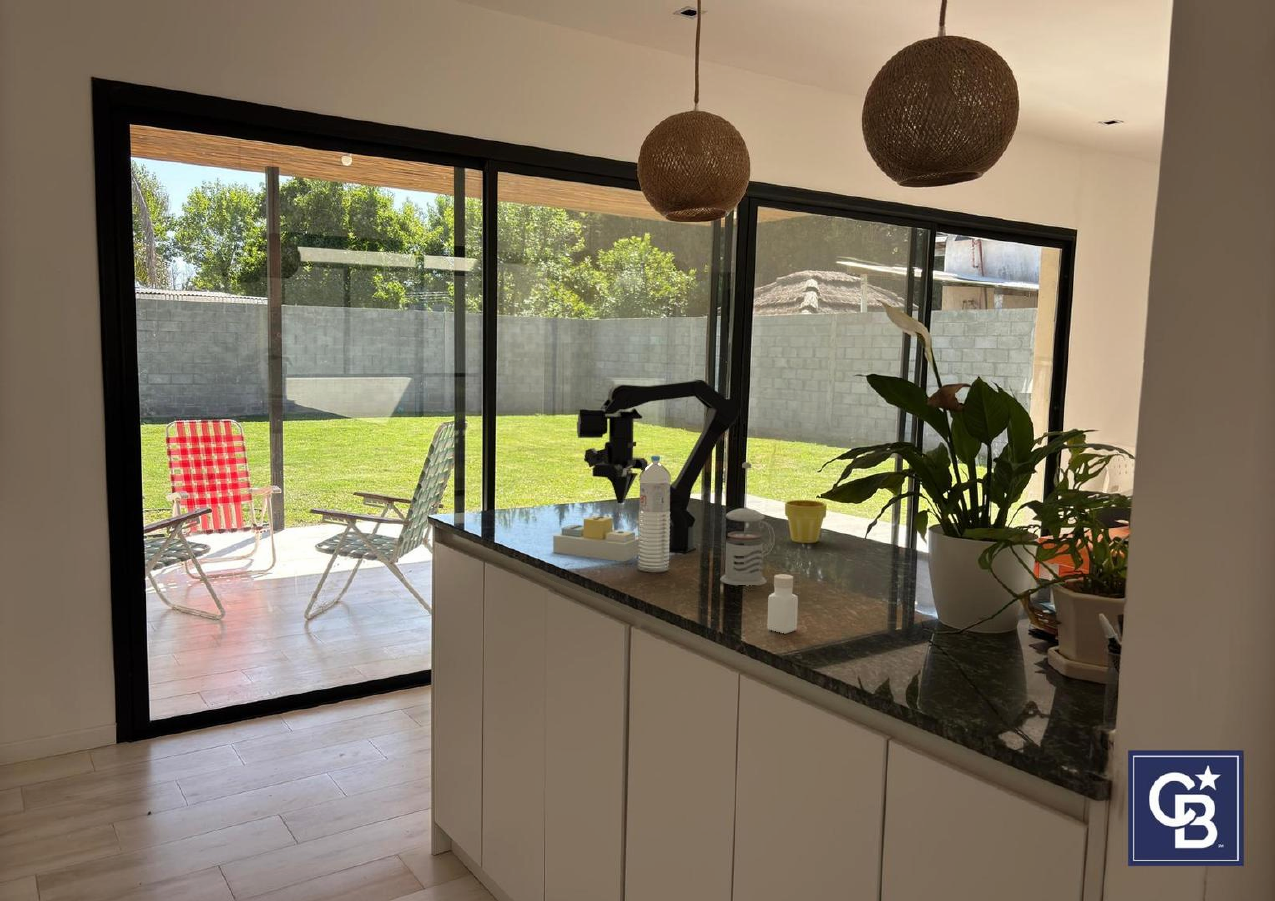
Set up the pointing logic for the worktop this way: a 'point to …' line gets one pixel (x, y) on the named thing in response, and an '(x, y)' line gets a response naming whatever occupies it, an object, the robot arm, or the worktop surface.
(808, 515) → the plant pot
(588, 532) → the mustard tile
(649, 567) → the water bottle
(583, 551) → the panel
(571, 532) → the slate tile
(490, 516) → the worktop surface
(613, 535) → the cream tile
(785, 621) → the white pill bottle
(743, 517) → the french press
